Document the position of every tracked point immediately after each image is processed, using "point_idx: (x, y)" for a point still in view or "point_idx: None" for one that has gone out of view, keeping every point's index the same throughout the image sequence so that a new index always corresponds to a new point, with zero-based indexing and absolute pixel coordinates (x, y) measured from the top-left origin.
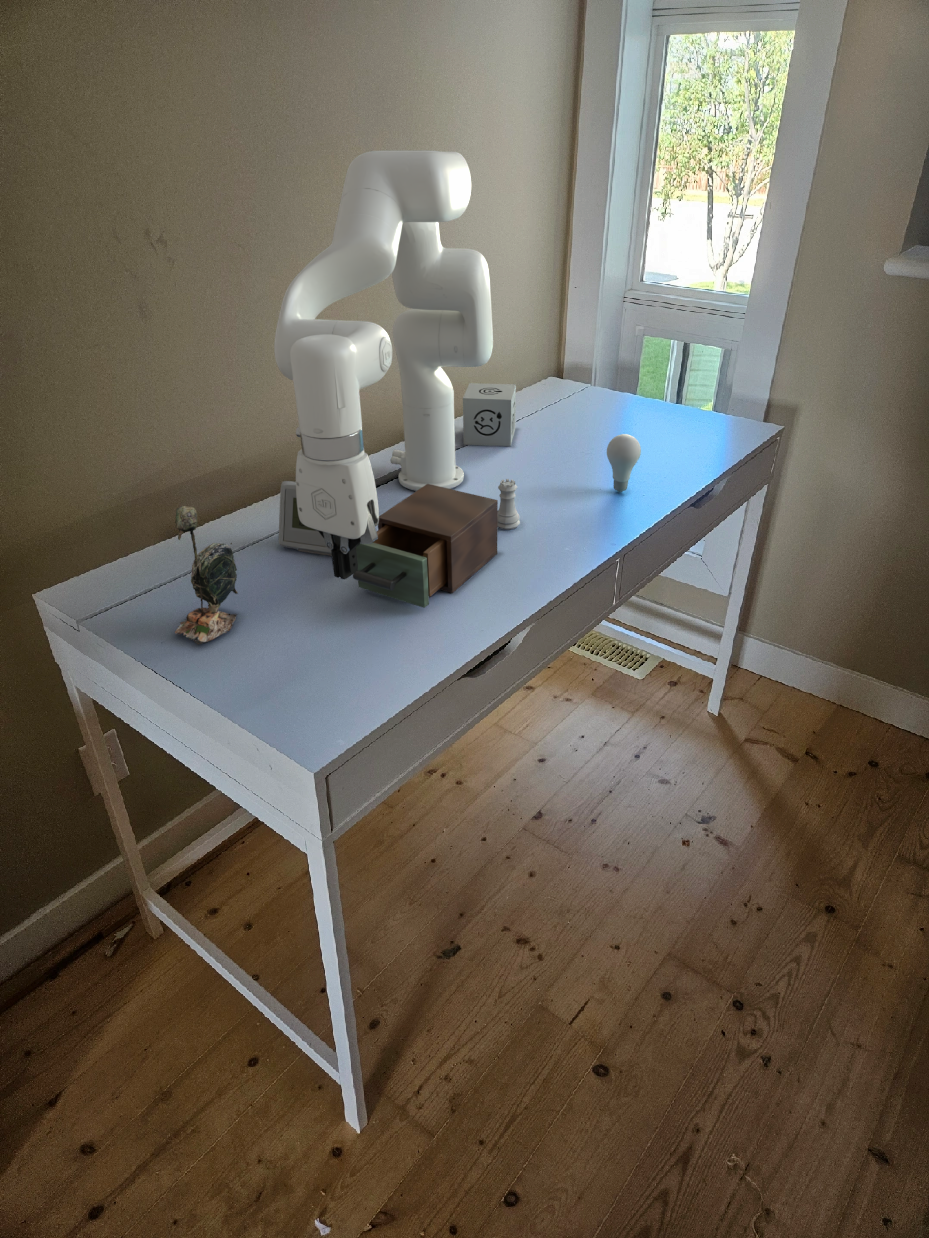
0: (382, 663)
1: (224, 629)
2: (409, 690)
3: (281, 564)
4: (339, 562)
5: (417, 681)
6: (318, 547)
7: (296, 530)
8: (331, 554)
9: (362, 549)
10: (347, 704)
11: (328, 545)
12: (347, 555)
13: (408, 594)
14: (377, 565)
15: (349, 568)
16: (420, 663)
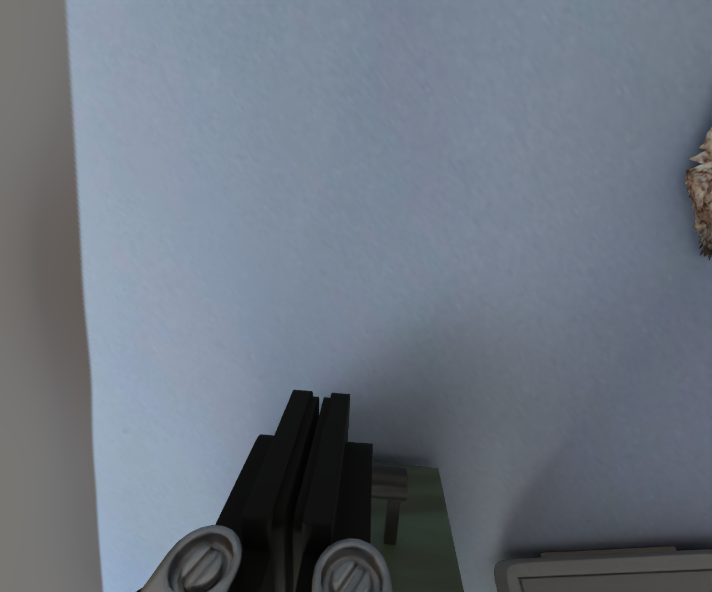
0: (218, 247)
1: (705, 170)
2: (99, 184)
3: (689, 490)
4: (283, 457)
5: (108, 223)
6: (624, 568)
7: None
8: (581, 554)
9: (431, 589)
10: (178, 53)
11: (366, 577)
12: (229, 521)
13: None
14: (374, 538)
15: (258, 447)
16: (148, 285)
